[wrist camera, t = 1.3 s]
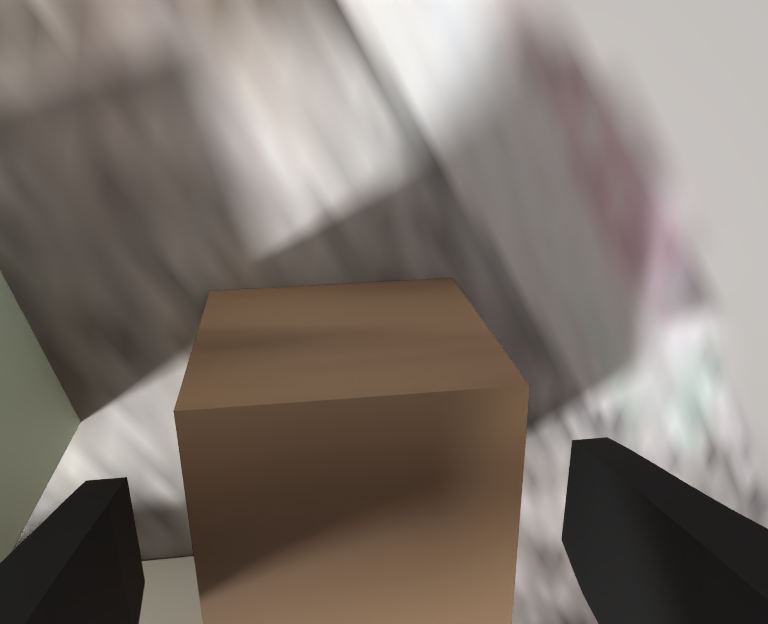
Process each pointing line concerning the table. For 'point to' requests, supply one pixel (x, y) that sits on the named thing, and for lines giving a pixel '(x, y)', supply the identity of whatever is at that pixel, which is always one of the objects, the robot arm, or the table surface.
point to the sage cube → (26, 421)
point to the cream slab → (170, 592)
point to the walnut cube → (352, 456)
